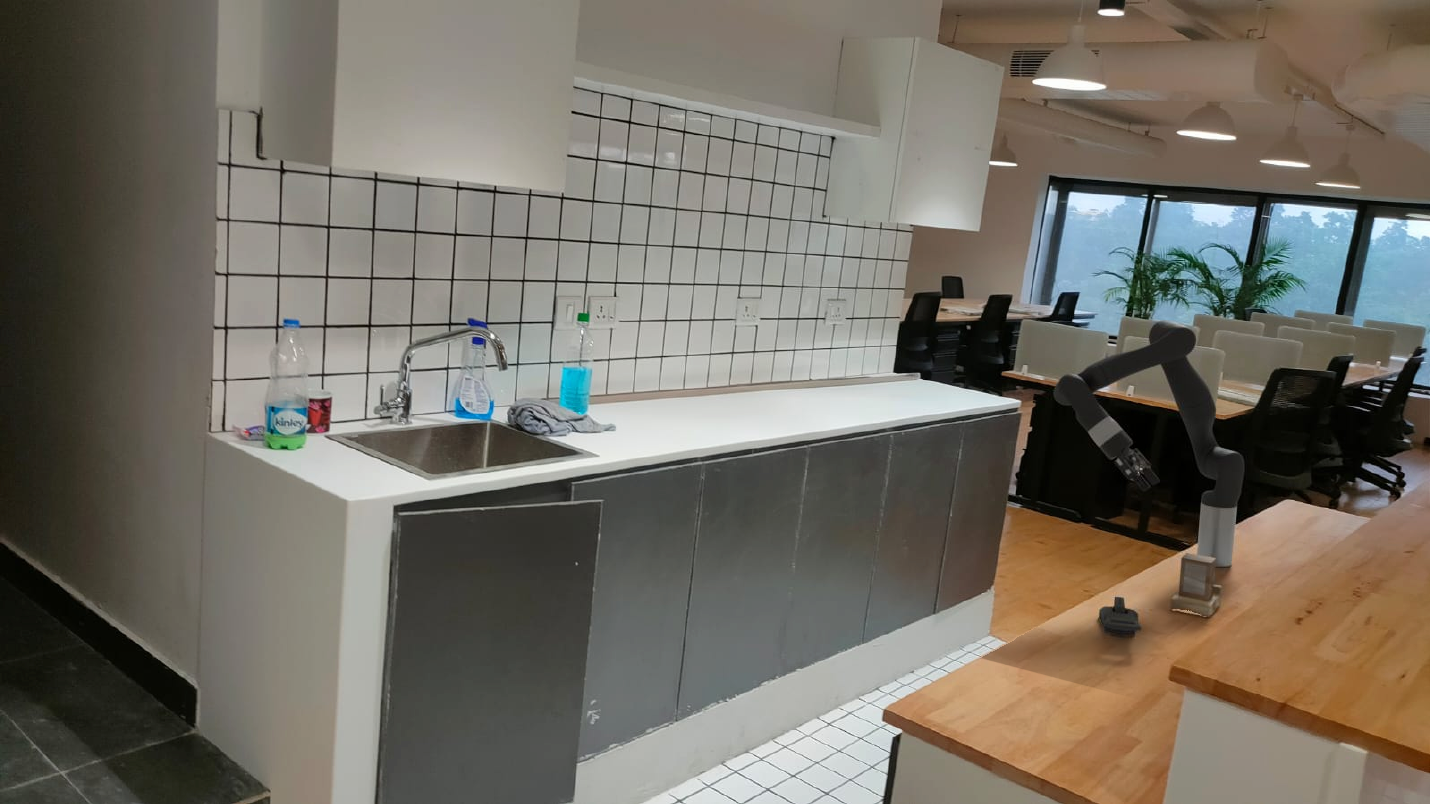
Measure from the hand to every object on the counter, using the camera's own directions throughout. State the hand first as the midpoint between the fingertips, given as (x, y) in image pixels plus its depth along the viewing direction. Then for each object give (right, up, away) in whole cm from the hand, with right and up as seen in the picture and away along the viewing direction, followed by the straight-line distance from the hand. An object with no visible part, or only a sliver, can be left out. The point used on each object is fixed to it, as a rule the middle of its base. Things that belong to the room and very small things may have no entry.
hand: (1152, 486), depth 277 cm
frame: (+8, -27, -7) cm, 29 cm away
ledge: (+8, -30, -7) cm, 32 cm away
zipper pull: (-17, -33, -24) cm, 44 cm away
